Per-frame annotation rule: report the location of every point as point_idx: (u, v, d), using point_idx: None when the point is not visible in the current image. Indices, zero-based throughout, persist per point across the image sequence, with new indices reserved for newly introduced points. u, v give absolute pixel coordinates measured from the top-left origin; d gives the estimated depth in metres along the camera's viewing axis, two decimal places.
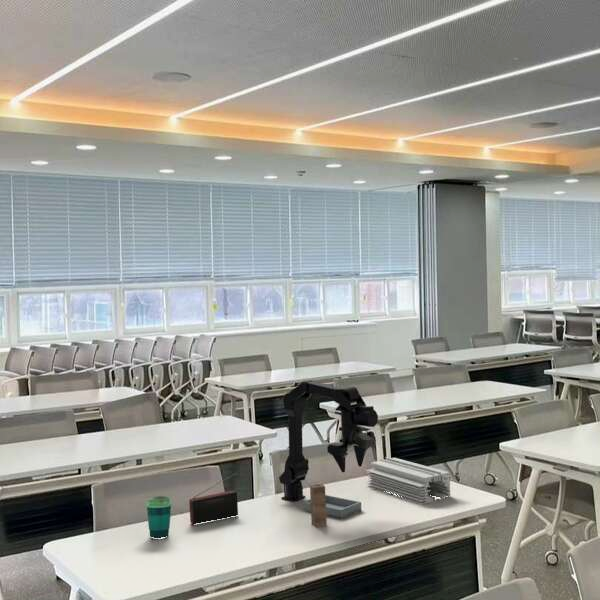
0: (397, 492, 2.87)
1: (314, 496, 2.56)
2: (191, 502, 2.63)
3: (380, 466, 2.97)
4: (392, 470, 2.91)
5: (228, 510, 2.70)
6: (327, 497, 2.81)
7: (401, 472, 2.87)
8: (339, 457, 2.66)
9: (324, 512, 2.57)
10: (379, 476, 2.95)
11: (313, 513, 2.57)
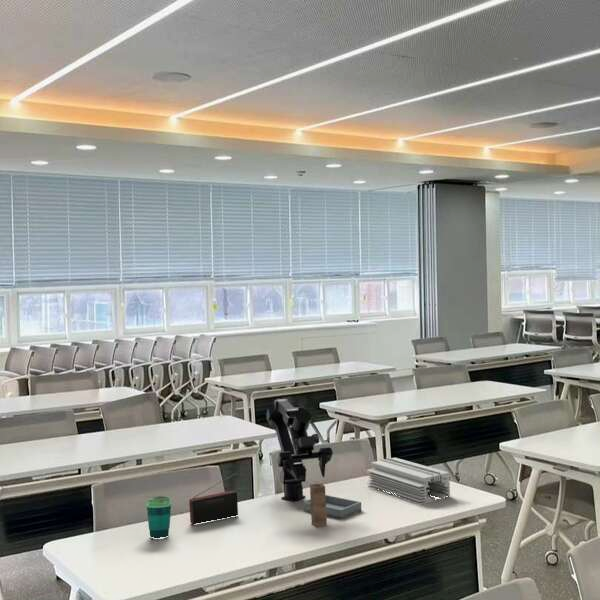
0: (397, 492, 2.87)
1: (314, 496, 2.56)
2: (191, 502, 2.63)
3: (380, 466, 2.97)
4: (392, 470, 2.91)
5: (228, 510, 2.70)
6: (327, 497, 2.81)
7: (401, 472, 2.87)
8: (290, 467, 2.68)
9: (324, 512, 2.57)
10: (379, 476, 2.95)
11: (313, 513, 2.57)
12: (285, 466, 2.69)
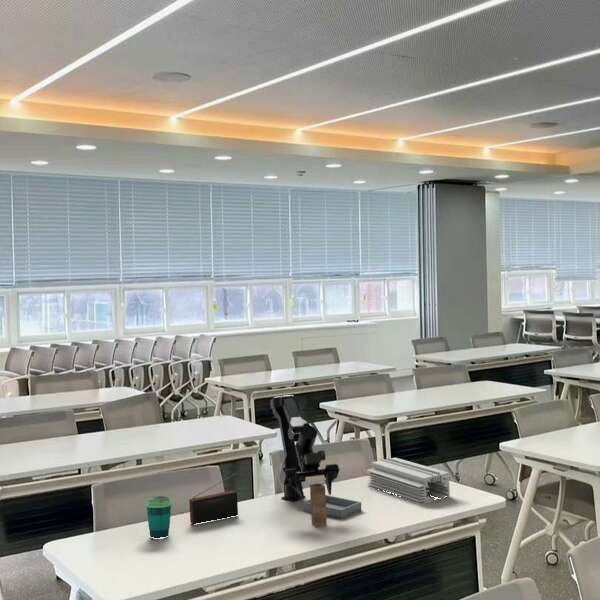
0: (396, 492, 2.87)
1: (314, 496, 2.56)
2: (191, 502, 2.63)
3: (380, 466, 2.98)
4: (392, 470, 2.91)
5: (228, 510, 2.70)
6: (327, 497, 2.81)
7: (400, 472, 2.87)
8: (296, 485, 2.61)
9: (324, 512, 2.57)
10: (379, 476, 2.95)
11: (313, 513, 2.57)
12: (290, 484, 2.63)
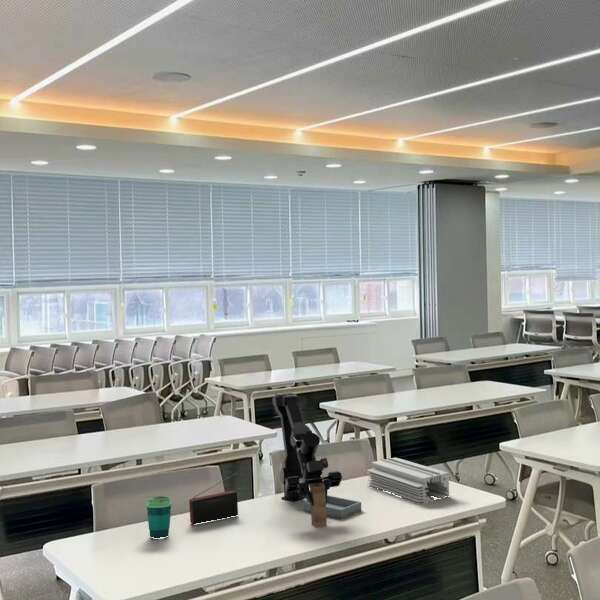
0: (396, 492, 2.87)
1: (314, 496, 2.56)
2: (191, 502, 2.63)
3: (380, 466, 2.98)
4: (392, 470, 2.92)
5: (228, 510, 2.70)
6: (327, 497, 2.81)
7: (400, 472, 2.87)
8: (305, 492, 2.60)
9: (324, 512, 2.57)
10: (379, 476, 2.95)
11: (313, 513, 2.57)
12: (300, 491, 2.61)
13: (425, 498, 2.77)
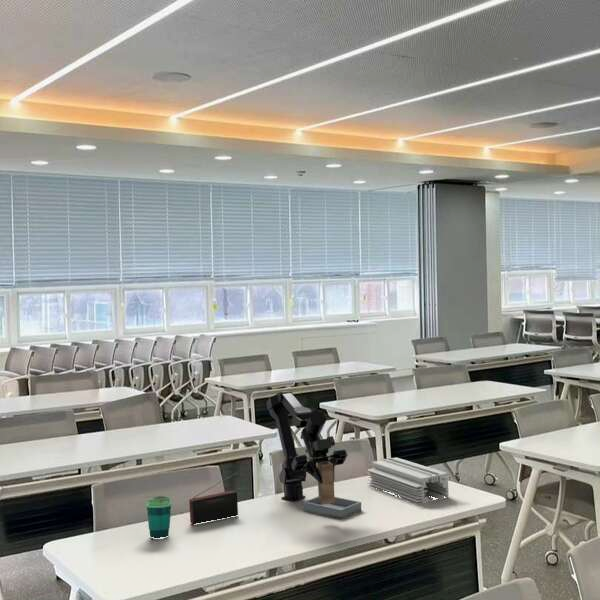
0: (396, 492, 2.87)
1: (323, 474, 2.59)
2: (191, 502, 2.63)
3: (380, 466, 2.98)
4: (391, 470, 2.92)
5: (228, 510, 2.70)
6: None
7: (400, 472, 2.87)
8: (313, 470, 2.62)
9: (332, 489, 2.60)
10: (379, 476, 2.95)
11: (321, 491, 2.60)
12: (307, 469, 2.63)
13: (424, 498, 2.77)
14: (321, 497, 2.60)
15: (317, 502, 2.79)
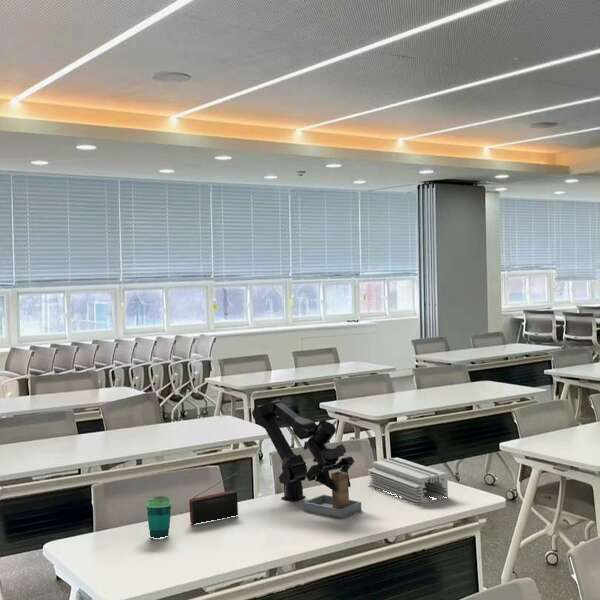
0: (395, 492, 2.87)
1: (340, 483, 2.67)
2: (191, 502, 2.63)
3: (380, 466, 2.98)
4: (391, 470, 2.92)
5: (228, 510, 2.70)
6: (327, 497, 2.81)
7: (399, 472, 2.87)
8: (325, 479, 2.69)
9: (347, 498, 2.69)
10: (379, 476, 2.95)
11: (337, 500, 2.68)
12: (318, 479, 2.69)
13: (423, 498, 2.77)
14: (337, 506, 2.68)
15: (317, 502, 2.79)
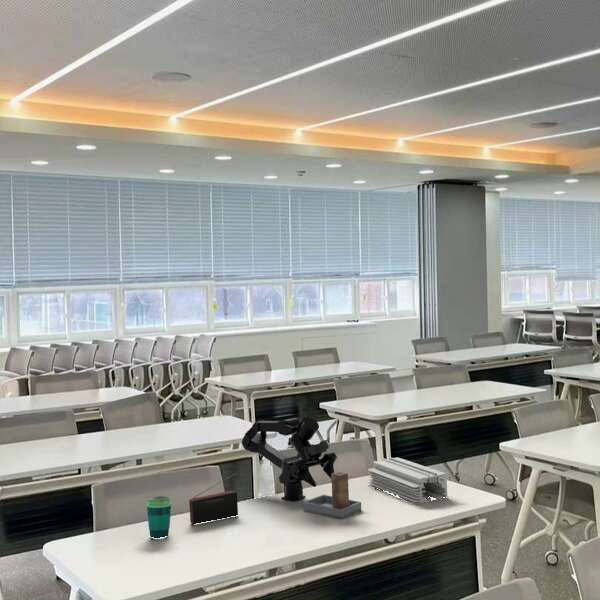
0: (394, 492, 2.87)
1: (340, 483, 2.67)
2: (191, 502, 2.63)
3: (380, 466, 2.98)
4: (391, 470, 2.92)
5: (228, 510, 2.70)
6: (327, 497, 2.81)
7: (399, 472, 2.87)
8: (305, 475, 2.75)
9: (347, 498, 2.69)
10: (379, 475, 2.96)
11: (337, 500, 2.68)
12: (298, 475, 2.75)
13: (422, 498, 2.76)
14: (337, 506, 2.68)
15: (317, 502, 2.79)
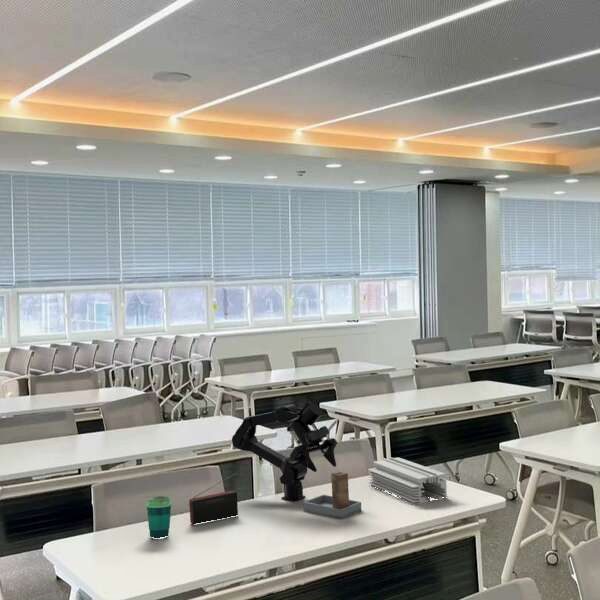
0: (394, 492, 2.87)
1: (340, 483, 2.67)
2: (191, 502, 2.63)
3: (380, 465, 2.98)
4: (391, 470, 2.92)
5: (228, 510, 2.70)
6: (327, 497, 2.81)
7: (398, 472, 2.87)
8: (305, 460, 2.76)
9: (347, 498, 2.69)
10: (379, 475, 2.96)
11: (337, 500, 2.68)
12: (299, 460, 2.76)
13: (421, 499, 2.76)
14: (337, 506, 2.68)
15: (317, 502, 2.79)
